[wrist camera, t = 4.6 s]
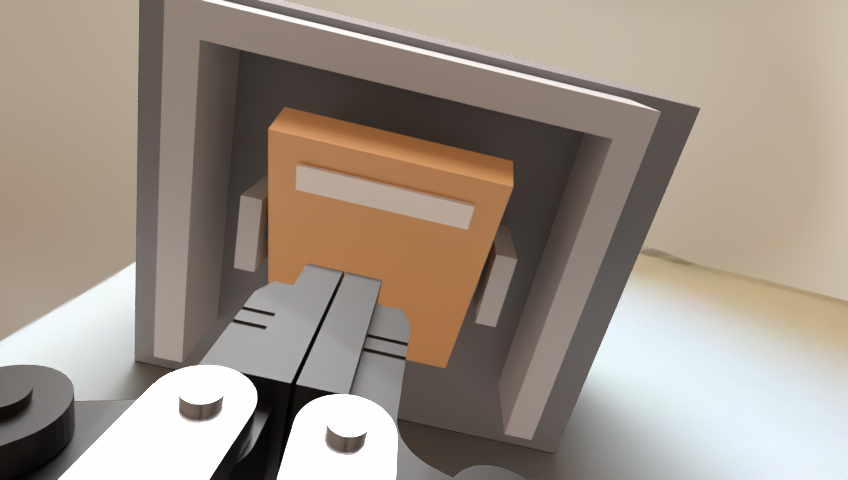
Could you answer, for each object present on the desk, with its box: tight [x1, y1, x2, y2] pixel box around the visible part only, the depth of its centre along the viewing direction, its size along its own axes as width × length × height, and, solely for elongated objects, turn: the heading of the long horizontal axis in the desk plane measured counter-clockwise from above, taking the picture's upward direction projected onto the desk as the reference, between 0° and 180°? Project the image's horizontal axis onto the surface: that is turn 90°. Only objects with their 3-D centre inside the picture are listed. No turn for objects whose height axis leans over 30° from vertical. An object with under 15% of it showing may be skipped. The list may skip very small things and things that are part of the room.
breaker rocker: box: [268, 107, 513, 368], centre depth 20 cm, size 8×2×10 cm, turn 87°
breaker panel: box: [135, 0, 700, 453], centre depth 26 cm, size 22×14×18 cm, turn 87°
